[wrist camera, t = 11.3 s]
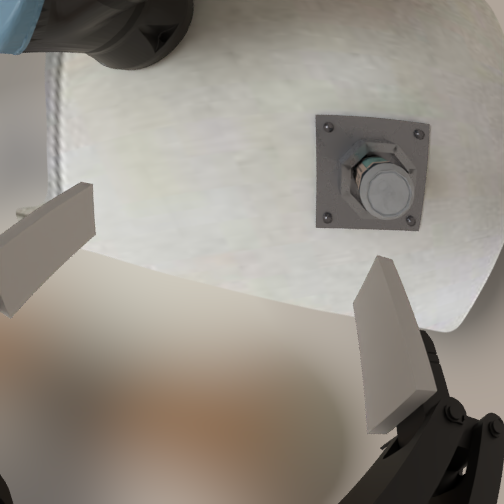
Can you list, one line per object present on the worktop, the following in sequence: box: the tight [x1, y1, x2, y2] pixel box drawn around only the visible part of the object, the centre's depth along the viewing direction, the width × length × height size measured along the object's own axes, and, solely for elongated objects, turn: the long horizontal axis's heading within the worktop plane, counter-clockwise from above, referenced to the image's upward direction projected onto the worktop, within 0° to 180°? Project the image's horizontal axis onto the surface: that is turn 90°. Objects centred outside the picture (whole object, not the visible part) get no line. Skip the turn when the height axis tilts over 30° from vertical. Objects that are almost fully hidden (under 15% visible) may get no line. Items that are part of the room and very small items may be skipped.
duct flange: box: [316, 115, 429, 231], centre depth 31 cm, size 14×14×4 cm
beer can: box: [354, 156, 414, 220], centre depth 26 cm, size 5×5×12 cm
